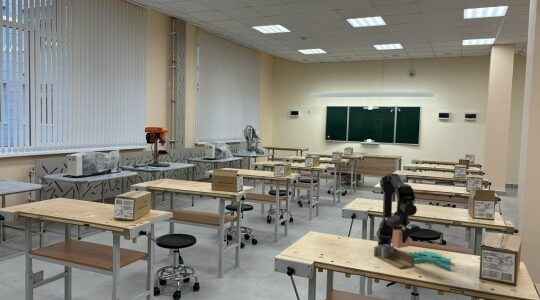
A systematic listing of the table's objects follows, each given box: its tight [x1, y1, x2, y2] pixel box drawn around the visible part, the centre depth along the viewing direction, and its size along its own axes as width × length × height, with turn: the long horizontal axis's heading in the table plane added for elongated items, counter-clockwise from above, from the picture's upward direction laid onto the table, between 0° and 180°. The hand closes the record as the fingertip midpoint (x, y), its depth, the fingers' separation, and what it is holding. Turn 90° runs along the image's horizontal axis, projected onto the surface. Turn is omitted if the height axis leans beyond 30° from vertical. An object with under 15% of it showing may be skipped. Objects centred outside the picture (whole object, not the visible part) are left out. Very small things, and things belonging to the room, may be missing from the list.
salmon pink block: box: [391, 228, 410, 249], centre depth 193 cm, size 7×4×8 cm, turn 115°
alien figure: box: [408, 250, 452, 272], centre depth 201 cm, size 20×2×20 cm
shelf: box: [373, 244, 415, 270], centre depth 198 cm, size 9×19×6 cm, turn 24°
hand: (400, 241), depth 193 cm, fingers closed on salmon pink block, 4 cm apart
